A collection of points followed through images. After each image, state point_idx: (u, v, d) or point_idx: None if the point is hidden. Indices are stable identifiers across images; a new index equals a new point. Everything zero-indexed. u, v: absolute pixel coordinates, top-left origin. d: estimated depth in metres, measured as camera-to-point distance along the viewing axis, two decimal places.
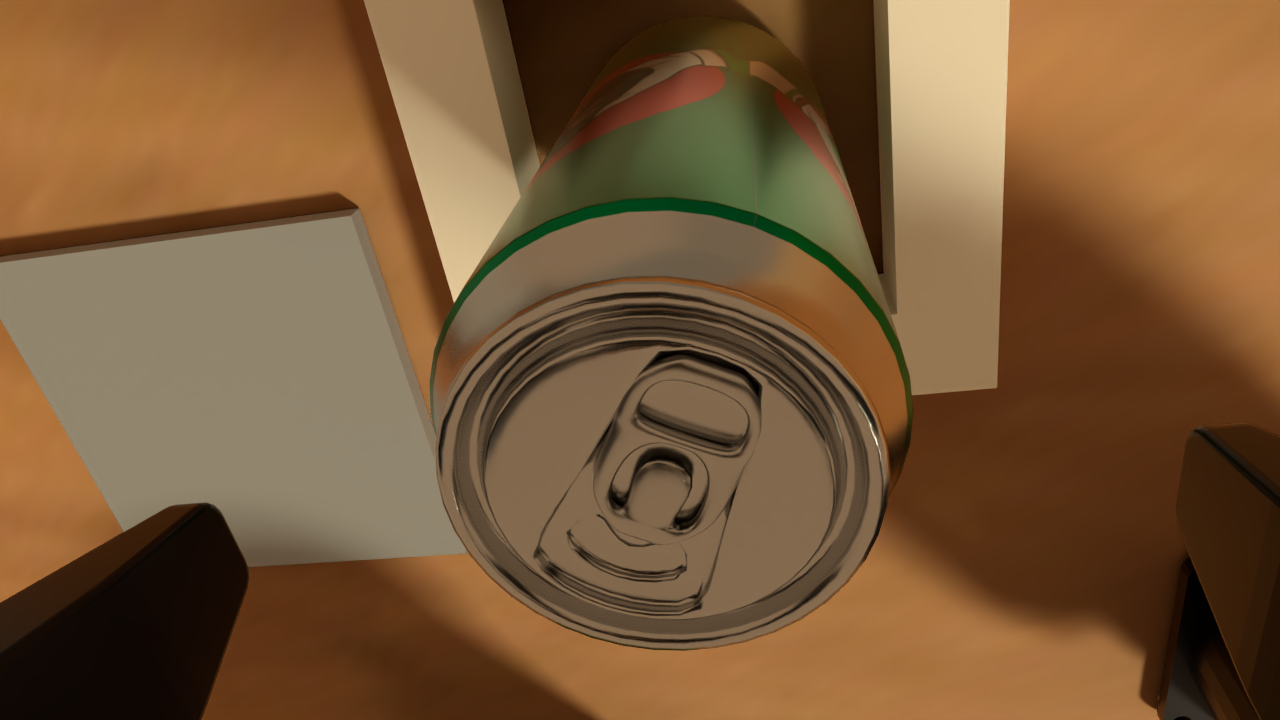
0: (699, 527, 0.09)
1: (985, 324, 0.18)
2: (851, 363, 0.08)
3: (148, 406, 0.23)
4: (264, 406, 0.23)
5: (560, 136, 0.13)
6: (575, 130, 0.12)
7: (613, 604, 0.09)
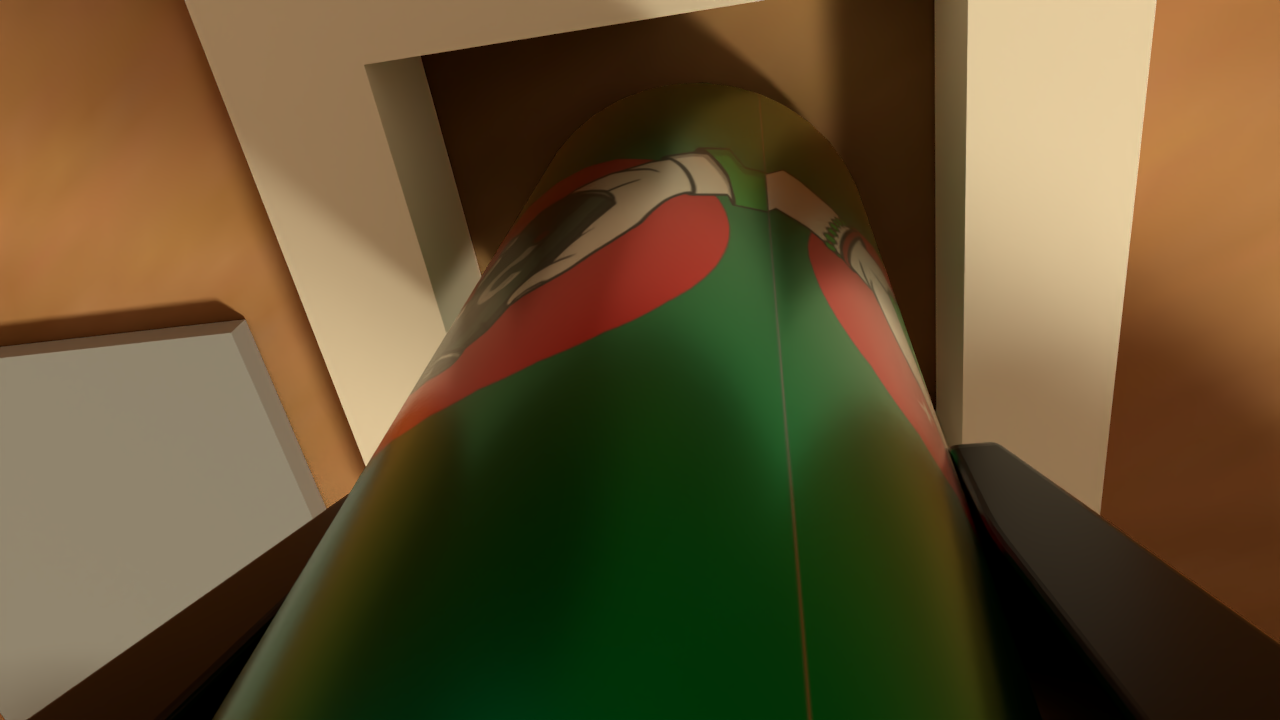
0: None
1: (1082, 499, 0.13)
2: None
3: None
4: (140, 556, 0.18)
5: (466, 304, 0.08)
6: (474, 325, 0.07)
7: None
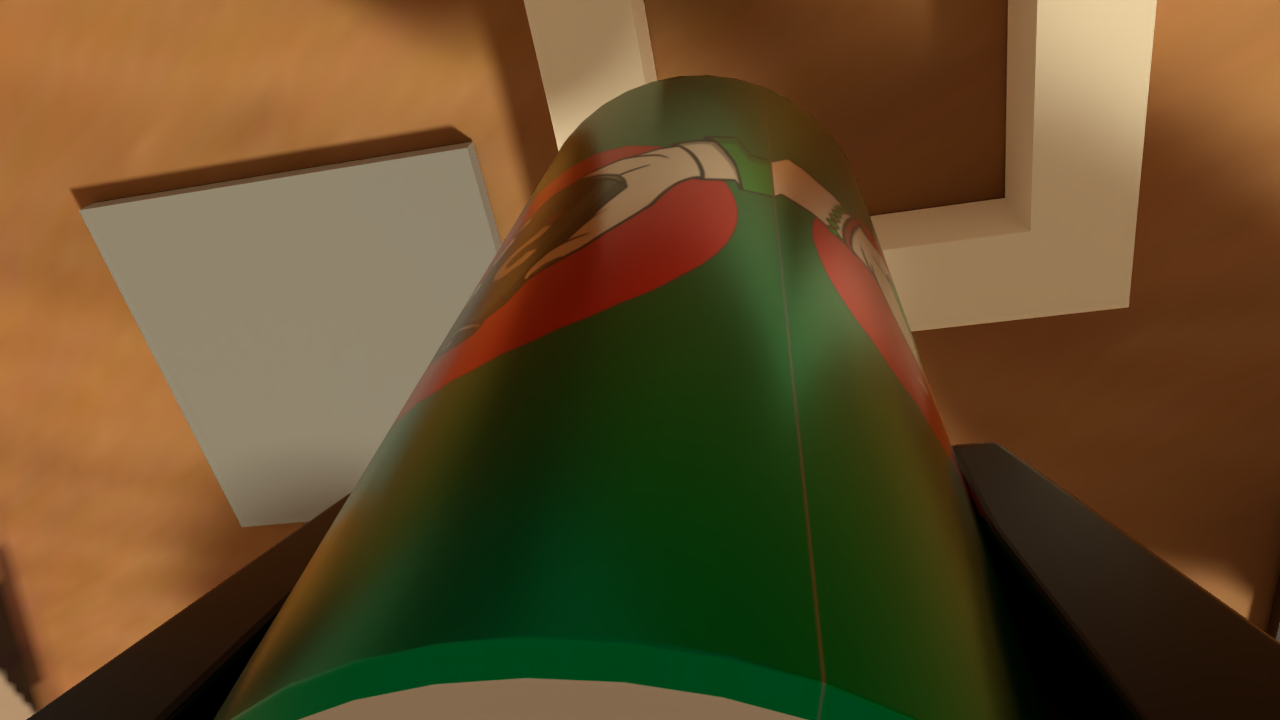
0: None
1: (1120, 240, 0.18)
2: None
3: (251, 352, 0.23)
4: (369, 350, 0.23)
5: (482, 281, 0.09)
6: (493, 298, 0.07)
7: None
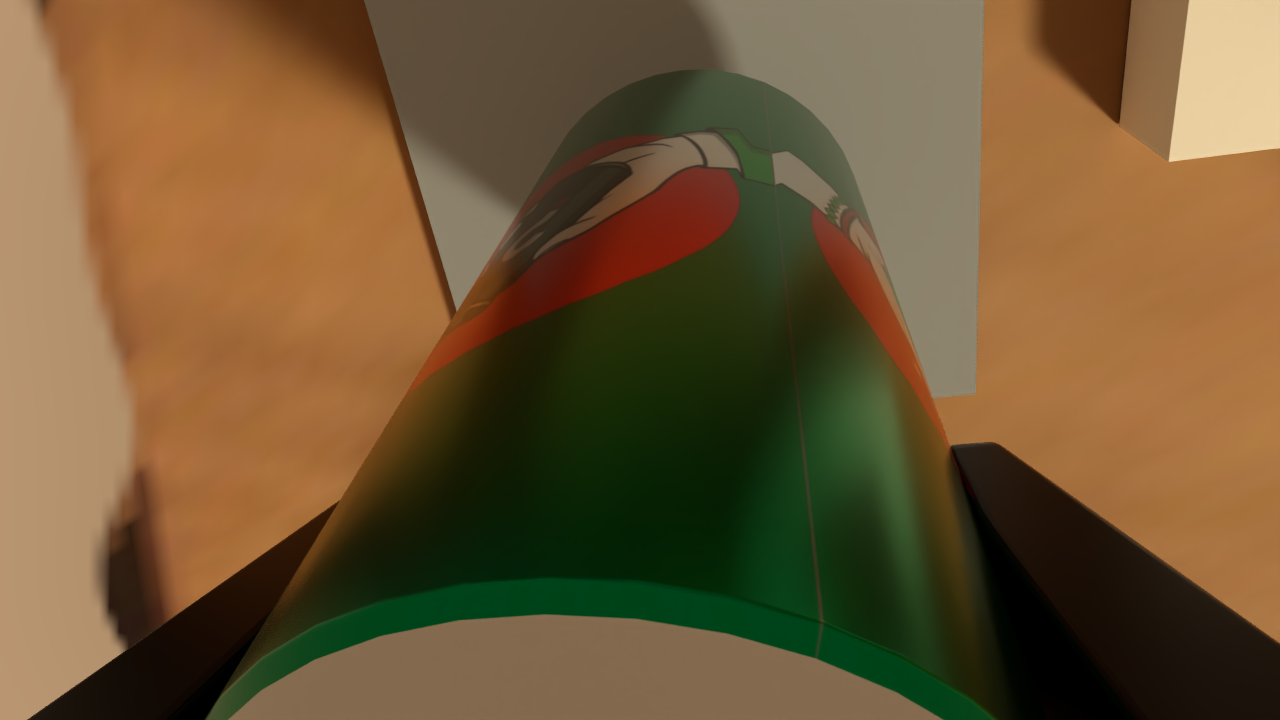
0: None
1: None
2: None
3: None
4: None
5: (489, 264, 0.09)
6: (502, 278, 0.07)
7: None
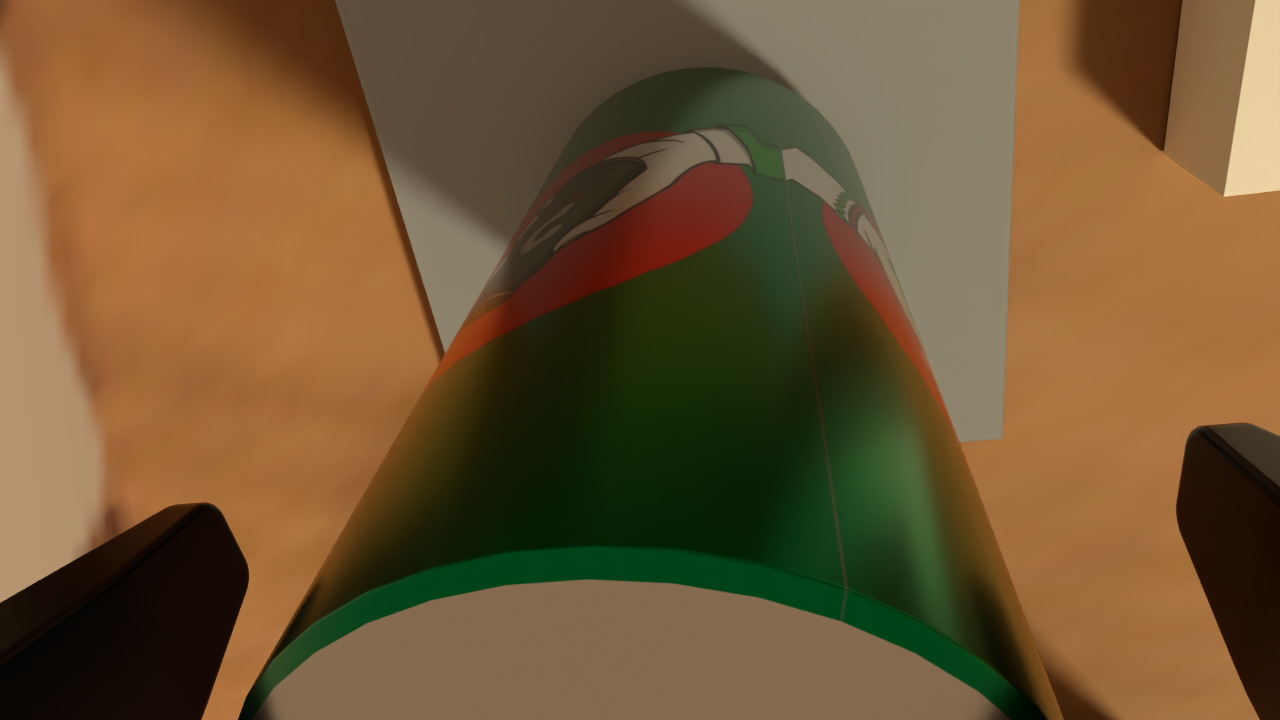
0: None
1: None
2: None
3: None
4: None
5: (507, 256, 0.09)
6: (523, 269, 0.08)
7: None
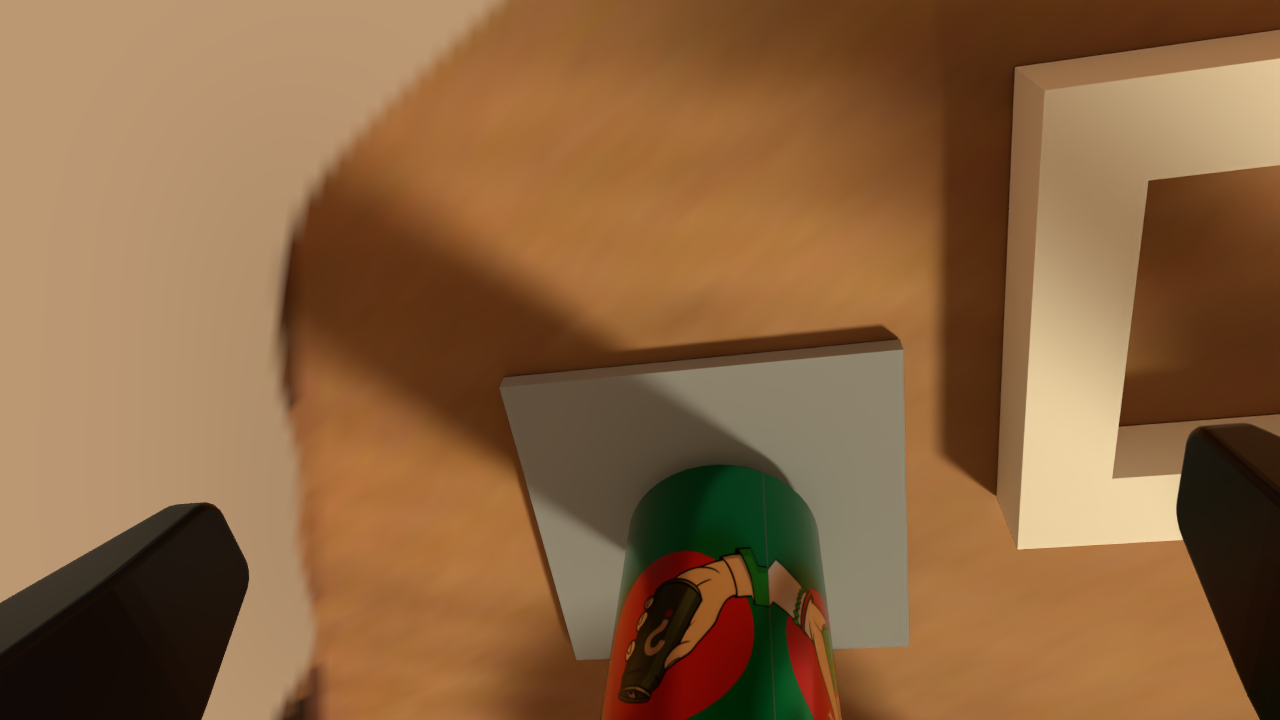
0: None
1: None
2: None
3: (633, 512, 0.24)
4: None
5: (634, 640, 0.18)
6: (651, 675, 0.17)
7: None
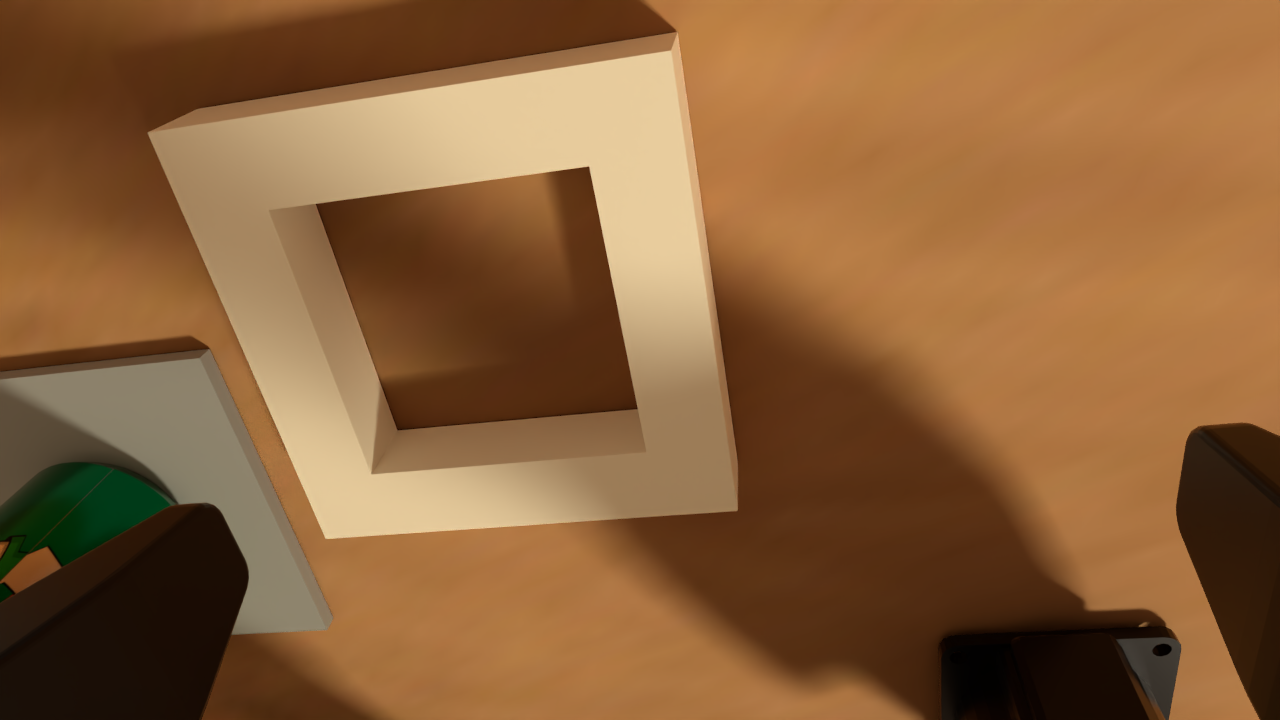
0: None
1: (719, 461, 0.21)
2: None
3: None
4: None
5: None
6: None
7: None
